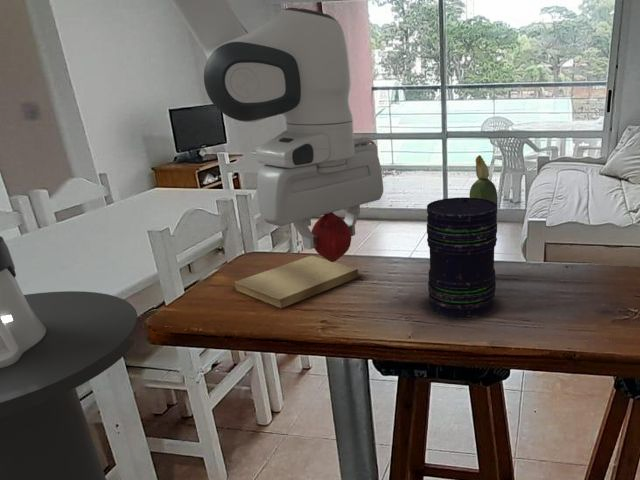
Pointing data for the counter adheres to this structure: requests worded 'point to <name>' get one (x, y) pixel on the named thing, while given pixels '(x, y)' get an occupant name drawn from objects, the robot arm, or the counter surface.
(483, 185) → the vegetable
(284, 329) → the counter surface
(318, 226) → the onion
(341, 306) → the counter surface
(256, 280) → the cutting board
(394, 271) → the counter surface
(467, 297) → the storage jar
